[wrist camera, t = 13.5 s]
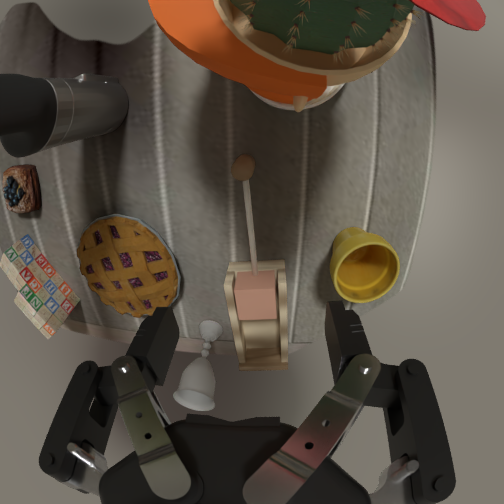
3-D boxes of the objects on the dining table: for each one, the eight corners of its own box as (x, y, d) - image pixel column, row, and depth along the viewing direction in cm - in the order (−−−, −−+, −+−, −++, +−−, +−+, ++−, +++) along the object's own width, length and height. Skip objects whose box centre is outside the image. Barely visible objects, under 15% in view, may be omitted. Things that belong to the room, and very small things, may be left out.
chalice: (187, 326, 55) (165, 395, 40) (208, 311, 53) (188, 385, 37) (213, 344, 58) (198, 413, 42) (234, 331, 55) (223, 404, 39)
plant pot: (360, 203, 41) (382, 227, 32) (387, 247, 44) (409, 278, 35) (310, 239, 44) (319, 271, 36) (341, 279, 48) (354, 314, 39)
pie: (203, 295, 51) (197, 311, 47) (120, 312, 56) (111, 327, 51) (152, 190, 42) (139, 199, 37) (70, 230, 46) (56, 240, 42)
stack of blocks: (21, 245, 49) (-9, 271, 38) (28, 233, 47) (-5, 258, 36) (71, 308, 57) (47, 340, 46) (81, 299, 55) (55, 333, 44)
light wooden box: (229, 262, 47) (222, 289, 40) (284, 259, 46) (286, 286, 39) (242, 341, 56) (239, 370, 49) (286, 340, 56) (287, 369, 49)
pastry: (45, 209, 44) (28, 220, 39) (16, 210, 44) (0, 220, 39) (38, 159, 39) (19, 167, 34) (9, 165, 39) (-8, 173, 34)
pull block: (223, 156, 37) (215, 163, 31) (265, 152, 36) (265, 158, 31) (242, 296, 48) (239, 320, 43) (276, 295, 47) (276, 318, 42)
